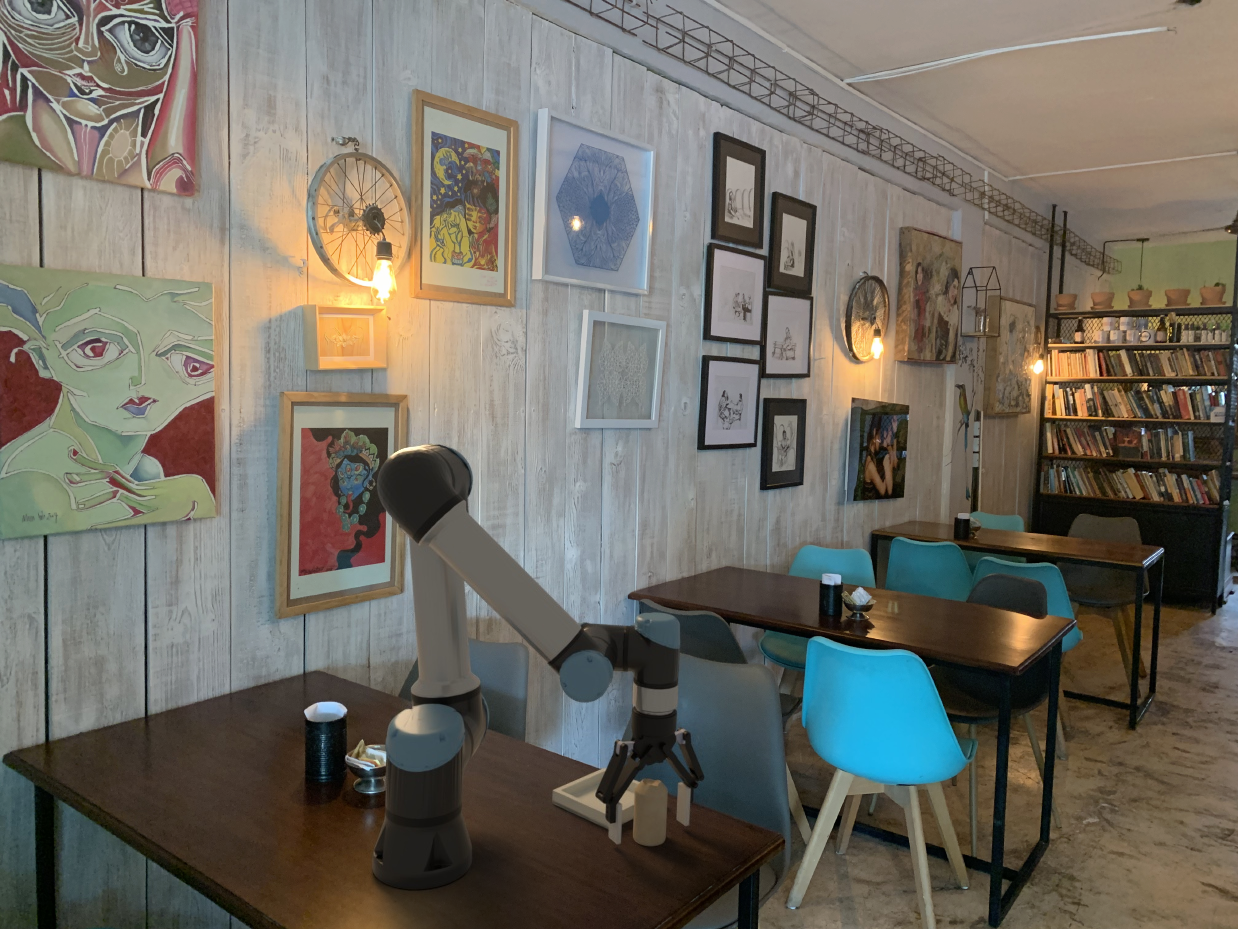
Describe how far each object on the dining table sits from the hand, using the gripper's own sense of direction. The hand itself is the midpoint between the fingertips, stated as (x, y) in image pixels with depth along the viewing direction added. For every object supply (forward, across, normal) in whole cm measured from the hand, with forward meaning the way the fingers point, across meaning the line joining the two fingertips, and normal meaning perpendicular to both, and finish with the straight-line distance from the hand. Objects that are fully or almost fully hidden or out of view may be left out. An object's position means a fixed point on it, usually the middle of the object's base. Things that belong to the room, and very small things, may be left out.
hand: (649, 831), depth 148 cm
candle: (+1, 0, 0) cm, 1 cm away
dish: (+1, 0, -14) cm, 14 cm away
